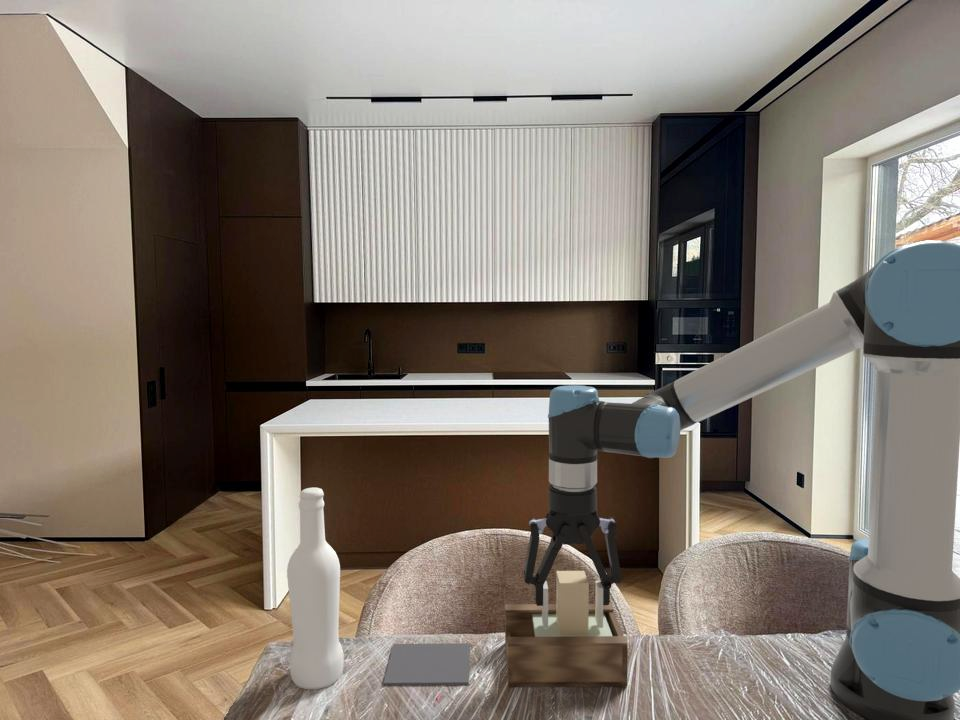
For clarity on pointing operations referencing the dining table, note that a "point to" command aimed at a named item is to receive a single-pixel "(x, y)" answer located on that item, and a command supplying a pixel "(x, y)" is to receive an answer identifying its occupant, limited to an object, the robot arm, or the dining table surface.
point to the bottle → (314, 600)
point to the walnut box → (562, 653)
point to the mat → (429, 664)
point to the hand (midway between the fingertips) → (571, 623)
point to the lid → (570, 610)
